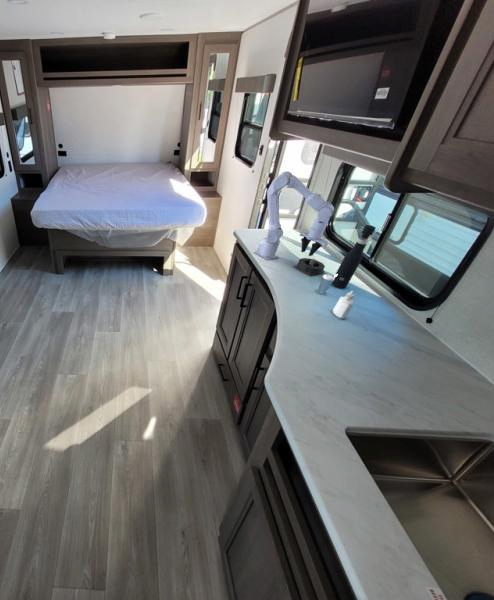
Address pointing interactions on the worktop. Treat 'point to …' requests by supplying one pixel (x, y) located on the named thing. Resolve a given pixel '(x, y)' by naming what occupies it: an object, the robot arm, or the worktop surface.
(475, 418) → the worktop surface
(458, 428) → the worktop surface
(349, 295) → the eye dropper bottle
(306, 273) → the stand
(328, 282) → the milkshake
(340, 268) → the black thermos flask
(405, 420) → the worktop surface
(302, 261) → the ring
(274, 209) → the robot arm
